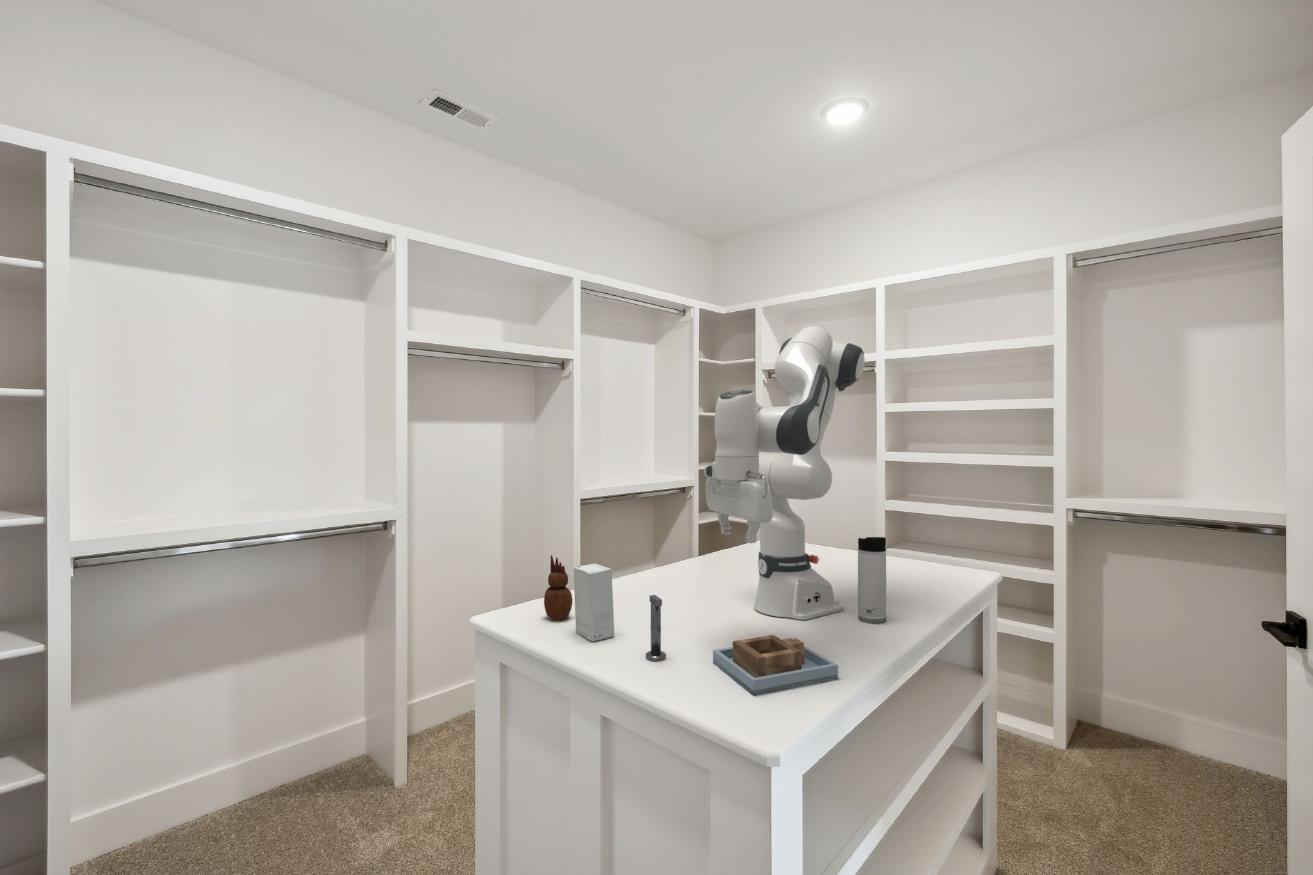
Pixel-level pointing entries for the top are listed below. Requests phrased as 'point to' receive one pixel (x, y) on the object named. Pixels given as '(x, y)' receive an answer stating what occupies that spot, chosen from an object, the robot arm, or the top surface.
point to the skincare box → (594, 602)
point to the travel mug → (872, 579)
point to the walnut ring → (768, 655)
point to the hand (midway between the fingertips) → (738, 538)
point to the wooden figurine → (557, 593)
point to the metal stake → (655, 631)
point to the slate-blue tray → (810, 673)
